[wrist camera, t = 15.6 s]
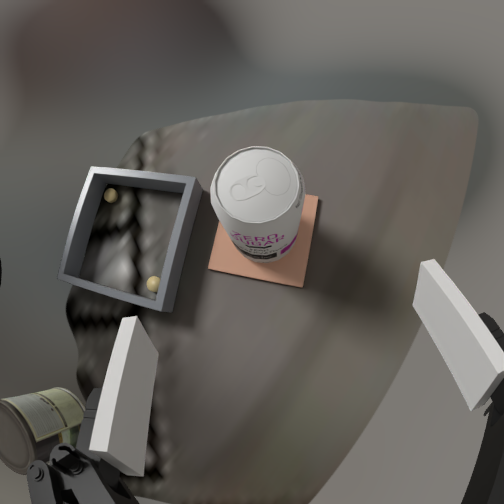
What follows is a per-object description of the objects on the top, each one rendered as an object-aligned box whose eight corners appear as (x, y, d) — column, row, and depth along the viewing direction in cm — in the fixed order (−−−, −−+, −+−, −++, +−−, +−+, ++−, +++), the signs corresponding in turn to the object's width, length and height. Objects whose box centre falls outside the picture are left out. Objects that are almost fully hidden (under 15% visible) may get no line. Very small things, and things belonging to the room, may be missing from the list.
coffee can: (99, 449, 36) (44, 482, 22) (52, 443, 36) (-3, 466, 22) (83, 386, 38) (19, 403, 24) (38, 385, 38) (-24, 396, 25)
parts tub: (72, 282, 41) (56, 278, 37) (103, 177, 44) (91, 166, 41) (172, 312, 39) (161, 311, 35) (203, 189, 42) (195, 177, 38)
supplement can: (279, 191, 41) (278, 127, 26) (308, 247, 39) (324, 205, 24) (222, 217, 41) (193, 163, 26) (248, 275, 39) (230, 248, 24)
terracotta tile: (208, 269, 40) (207, 268, 39) (230, 183, 42) (229, 181, 42) (302, 287, 39) (302, 287, 38) (317, 198, 41) (318, 196, 40)
